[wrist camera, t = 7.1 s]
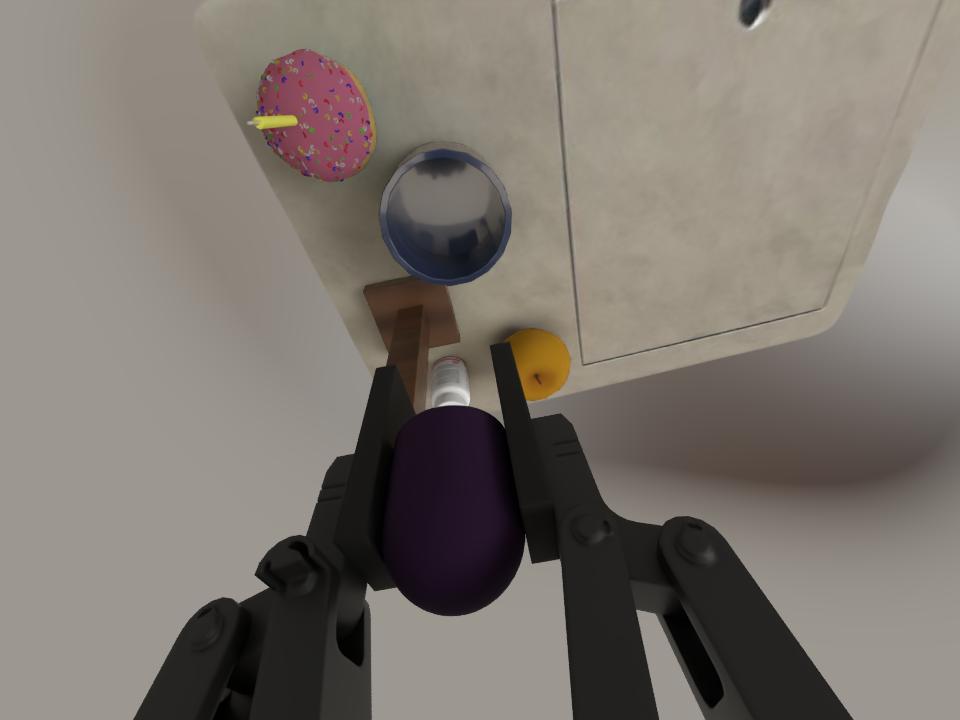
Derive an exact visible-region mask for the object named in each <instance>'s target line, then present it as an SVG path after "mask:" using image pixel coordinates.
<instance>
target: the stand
mask: <svg viewBox="0 0 960 720" xmlns="http://www.w3.org/2000/svg"><path fill="white" fill-rule="evenodd" d="M363 293H364V295H365V297H366V300H367V302H368V305H369V307H370V309H371V312H372V314H373V317H374V319H375V322H376V324H377V326H378V329H379V331H380V334H381V336H382V338H383V341H384V343H385V346H386V348H387V351H388V353H389V355H388V359H387V364H386V366H390V365H395V364H396V366H397V368H398V371H399V373H400V376H401V378H402V381H403V383H404V386H405V388H406V390H407V393H408V395H409V398H410V400H411V403H412V405H413V408H414V410H415V413H416V415H417V414H419V413H421V412H423V411H425V405H426V388H427V371H428V354H429V348H433V347H438V346H443V345H448V344H453V343H458V342H460V334H459V330H458V327H457V323H456V319H455V315H454V311H453V307H452V304H451V300H450V296H449V292H448V288H447V285H438V284H430V283H428V282H425V281H423V280H421V279H419V278H417V277H415V276H410V277H406V278H401V279H396V280H392V281H387V282H382V283H377V284H373V285H368V286H365V288H364V291H363Z"/></svg>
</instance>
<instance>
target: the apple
mask: <svg viewBox="0 0 960 720" xmlns="http://www.w3.org/2000/svg"><path fill="white" fill-rule="evenodd" d="M509 341H510V344H511V347H512V351H513V355H514V358H515V362H516V366H517V369H518V373H519V377H520V380H521V384H522V388H523V391H524V395H525V399H526V400H528V401H536V400H541V399H546V398H547V397H549V396H550V395H552V394H554V393H555V392H557V391H558V390H560V388H561V387H562V386H563V385H564V384H565V382H566V380H567V378H568V375H569V371H570V363H571V358H570V355H569V352H568V350H567V348H566V346H565V344H564V343H563V341H562V340H561V339H560V338H559V337H558V336H556V335H554V334H552V333H550V332H548V331H545V330H541V329H536V328H530V329H522V330H519V331H517V332H516V333H514V334H513V335H511V336H510V337H508V338H507V339H506V340H505V341H504V342H509ZM504 342H503V343H504Z"/></svg>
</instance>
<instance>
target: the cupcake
mask: <svg viewBox="0 0 960 720" xmlns="http://www.w3.org/2000/svg"><path fill="white" fill-rule="evenodd" d="M257 94H258V95H257V96H256V98H257V100H258V101H257V103H258V111H256V113H257V115H258V116H259V117H254V119H253V121H247V122H246V123H247V125H255V127H256V128H258V129H261V130H262V132H263V133H264V134H263V135H262V136H263V138H264V139H265V140H266V139H267V141H268V142H267V143H268V145H269V146H271V147H272V149H273V152H274V153H275V154H277V155H278V156H279V157H280V158H282V159H283V160H284V161H286V162H287V163H288V164H290V165H291V167H292V168H295V169H297V170H298V171H300V172H301V173H302V175H304V176H309V177H313V178H316V179H320V180H321V181H323V180H324V181H327V182H337V181H343V180H344V179H346V178H348V177H351V176H353V175H355V174H356V173H358V172H359V171H360V170H362V169H363V168H364V167H365V166H366V164H367V163H368V161H369V159H370V157H371V155H372V153H373V151H374V149H375V146H376V138H377V131H376V124H375V120H374V116H373V113H372V110H371V107H370V105H369V102H368V99H367V97H366V93H365V90H364V88H363V86H362V84H361V83H360V82H359V80H358V79H357V78H356V76H355V75H354V74H353V73H352V72H351V71H350V70H349V69H347V68H346V67H345V66H343V65H342V64H340V63H338V62H336V61H334V60H332V59H330V58H328V57H327V56H324V55H321V54H319V53H317V52H314V51H311V50H308V49H300V50H297V51H295V52H293V53H291V54H289V55H286V56H284V57H281V58H278V59H276V60H271V63H270V64H269V65H268V67H267V68H266V70H265V72H264V74H262V76H261V81H260V85H259V90H258V91H257ZM265 137H266V138H265Z"/></svg>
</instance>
